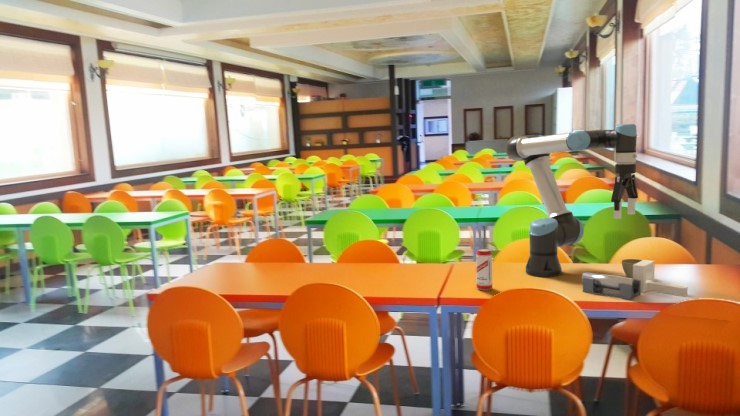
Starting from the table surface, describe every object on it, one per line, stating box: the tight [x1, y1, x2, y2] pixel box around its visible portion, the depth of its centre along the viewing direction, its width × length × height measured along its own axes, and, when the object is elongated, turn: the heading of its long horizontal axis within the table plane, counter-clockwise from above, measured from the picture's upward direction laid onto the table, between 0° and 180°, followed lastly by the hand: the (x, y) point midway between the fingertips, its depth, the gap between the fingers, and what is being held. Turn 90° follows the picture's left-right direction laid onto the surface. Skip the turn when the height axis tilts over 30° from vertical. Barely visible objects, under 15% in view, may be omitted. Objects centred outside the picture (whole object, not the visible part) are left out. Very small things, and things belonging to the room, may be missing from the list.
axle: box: [581, 271, 635, 291], centre depth 213 cm, size 18×5×5 cm, turn 44°
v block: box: [582, 277, 641, 301], centre depth 212 cm, size 18×9×6 cm, turn 44°
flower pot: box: [621, 258, 643, 279], centre depth 231 cm, size 10×10×7 cm
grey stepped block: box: [603, 259, 689, 297], centre depth 216 cm, size 31×11×10 cm, turn 44°
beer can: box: [475, 248, 493, 291], centre depth 224 cm, size 6×6×16 cm
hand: (624, 216), depth 224 cm, fingers open, 13 cm apart
